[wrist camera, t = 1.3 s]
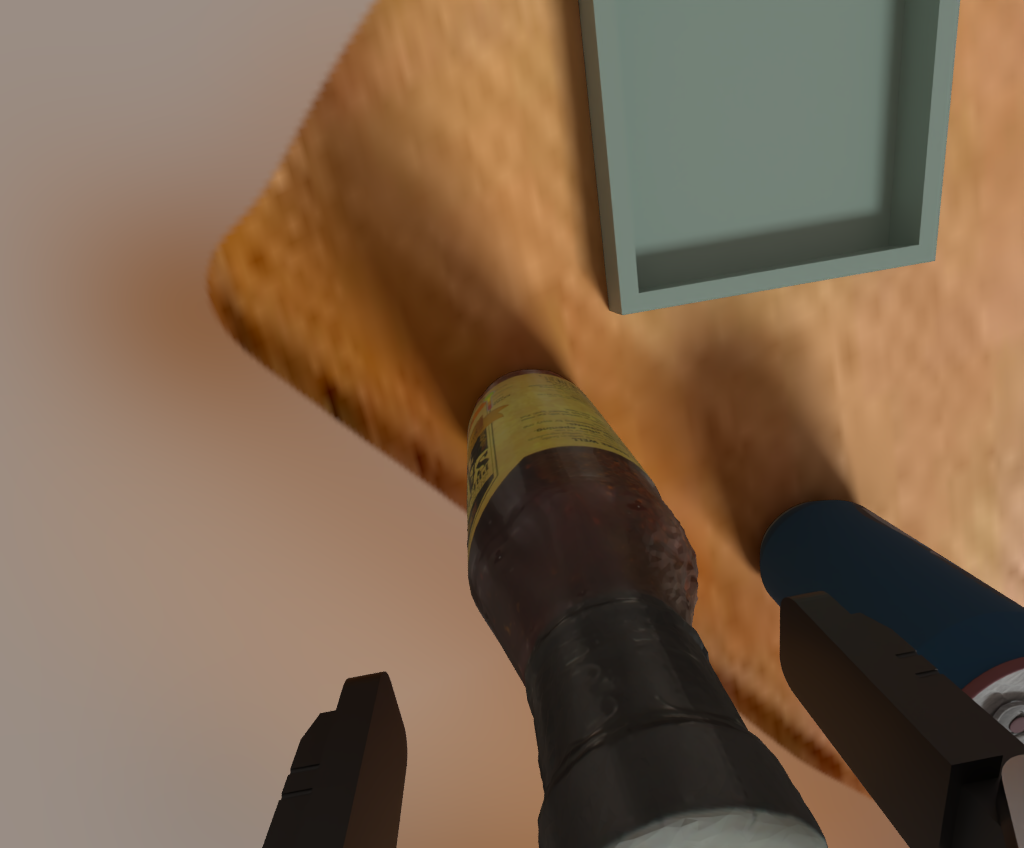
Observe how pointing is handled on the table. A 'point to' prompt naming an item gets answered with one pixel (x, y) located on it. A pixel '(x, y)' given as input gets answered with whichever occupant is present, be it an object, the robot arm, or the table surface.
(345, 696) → the robot arm
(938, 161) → the tray
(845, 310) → the table surface
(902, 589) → the soda can
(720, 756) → the sauce bottle
